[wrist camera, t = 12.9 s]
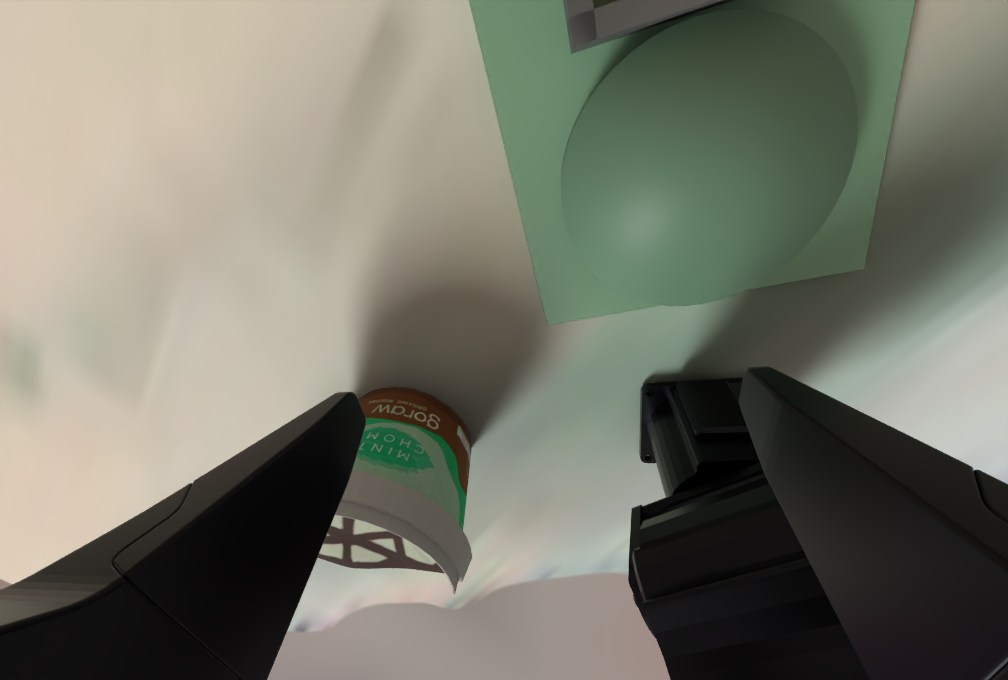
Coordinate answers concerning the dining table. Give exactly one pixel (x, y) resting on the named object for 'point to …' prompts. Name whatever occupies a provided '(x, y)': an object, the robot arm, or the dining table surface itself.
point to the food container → (405, 489)
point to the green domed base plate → (691, 141)
